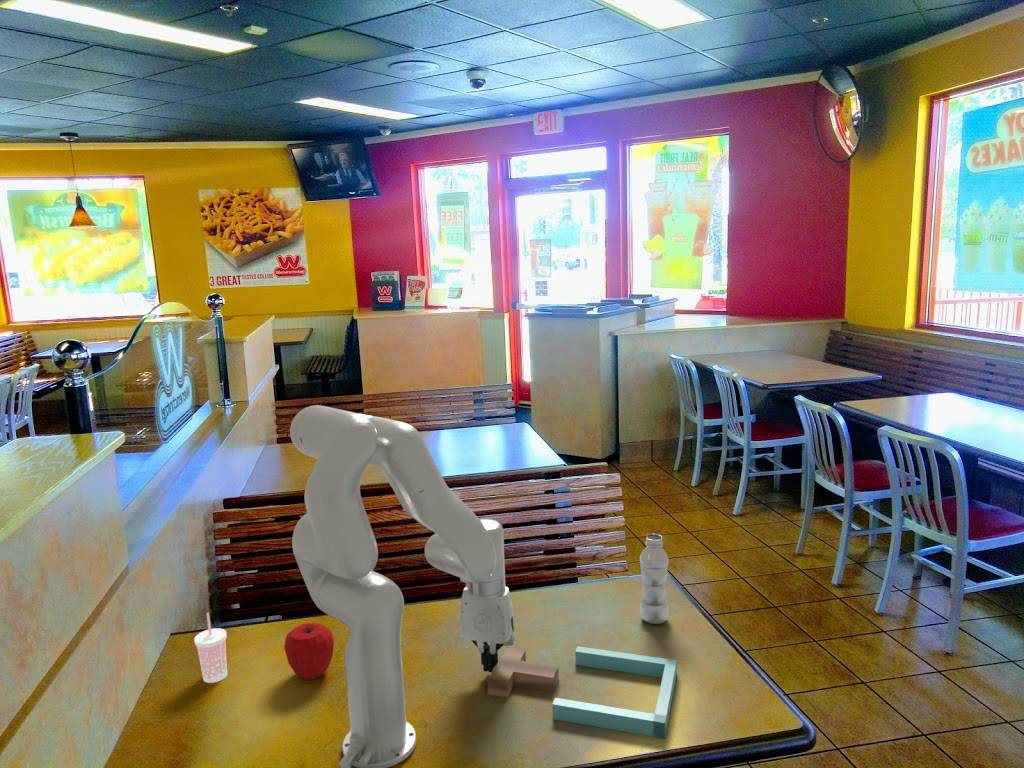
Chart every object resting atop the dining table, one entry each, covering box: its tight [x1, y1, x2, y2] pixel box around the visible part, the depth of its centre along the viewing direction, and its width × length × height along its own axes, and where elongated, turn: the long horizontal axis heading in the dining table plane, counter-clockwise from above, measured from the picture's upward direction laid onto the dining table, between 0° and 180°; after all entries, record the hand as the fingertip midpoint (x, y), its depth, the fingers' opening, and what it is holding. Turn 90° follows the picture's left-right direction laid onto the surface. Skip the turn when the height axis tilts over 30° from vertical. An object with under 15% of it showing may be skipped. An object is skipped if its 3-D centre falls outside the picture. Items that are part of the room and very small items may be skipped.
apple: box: [283, 622, 335, 681], centre depth 149 cm, size 10×10×11 cm
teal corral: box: [551, 646, 678, 739], centre depth 139 cm, size 20×20×3 cm
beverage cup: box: [193, 612, 228, 684], centre depth 149 cm, size 6×6×14 cm
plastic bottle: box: [639, 533, 670, 625], centre depth 164 cm, size 6×7×20 cm
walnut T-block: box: [486, 646, 560, 698], centre depth 145 cm, size 12×12×3 cm
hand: (489, 667), depth 147 cm, fingers closed
